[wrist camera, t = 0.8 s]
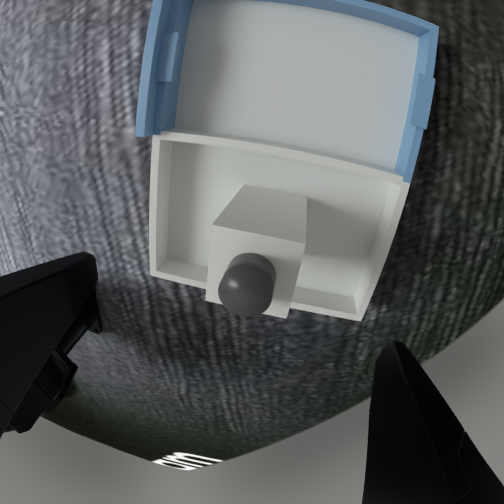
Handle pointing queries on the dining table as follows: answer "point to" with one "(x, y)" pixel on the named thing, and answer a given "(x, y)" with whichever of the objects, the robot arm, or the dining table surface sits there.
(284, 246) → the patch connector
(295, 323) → the dining table surface
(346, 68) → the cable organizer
